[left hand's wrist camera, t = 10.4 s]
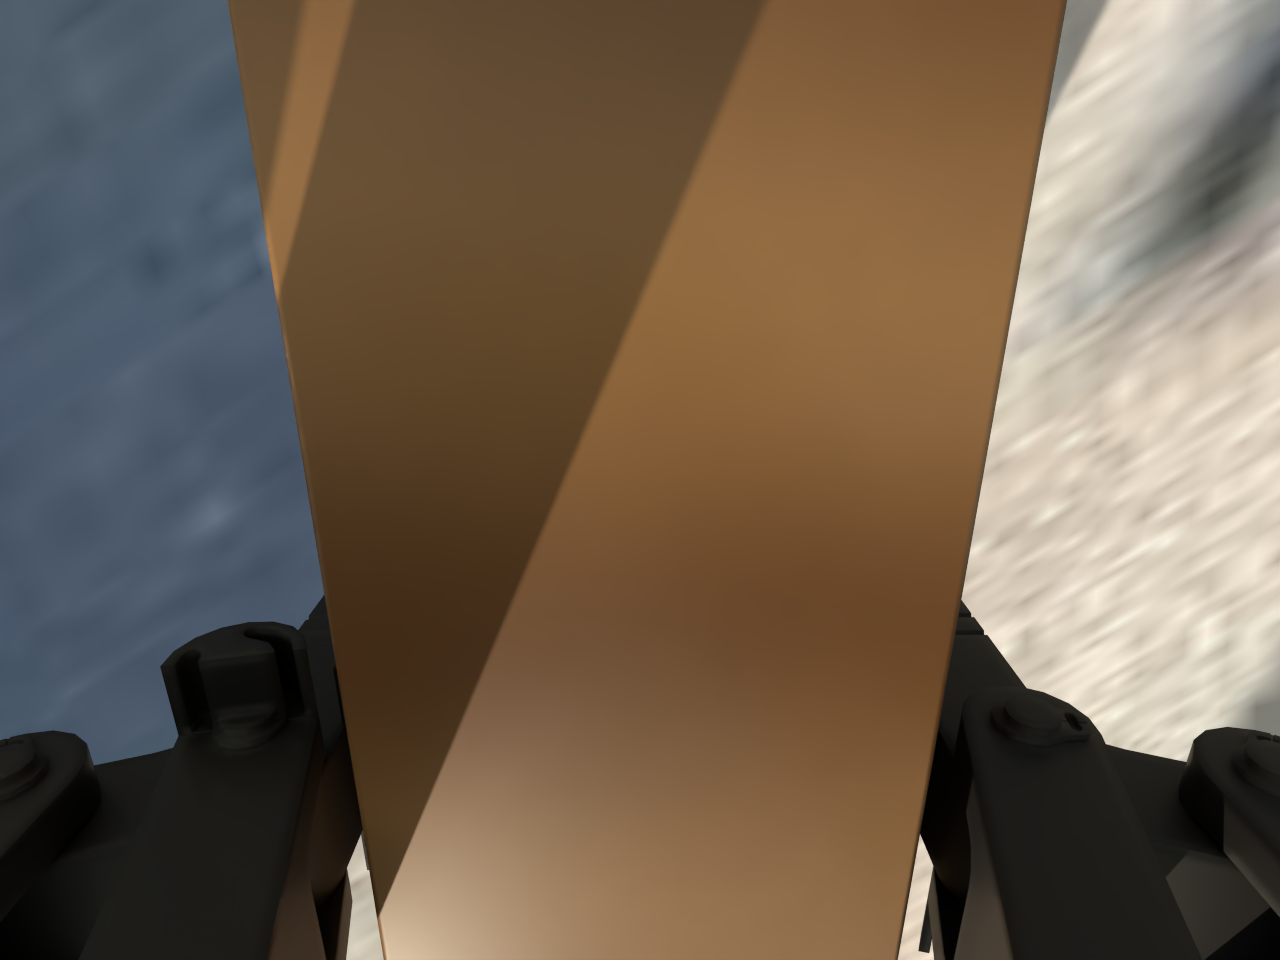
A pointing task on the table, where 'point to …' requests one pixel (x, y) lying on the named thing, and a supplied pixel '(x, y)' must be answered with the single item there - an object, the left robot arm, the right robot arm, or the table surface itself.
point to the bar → (644, 441)
